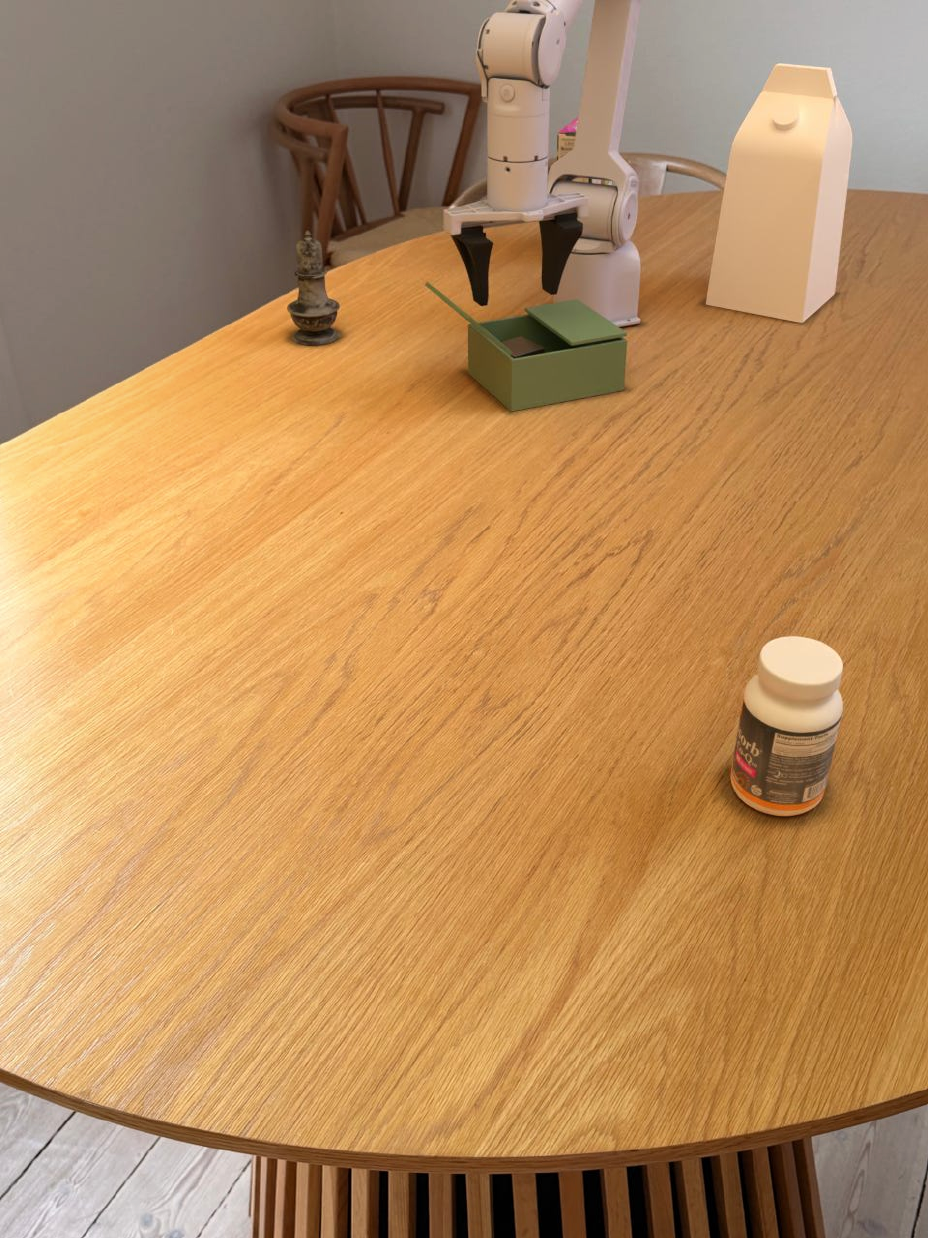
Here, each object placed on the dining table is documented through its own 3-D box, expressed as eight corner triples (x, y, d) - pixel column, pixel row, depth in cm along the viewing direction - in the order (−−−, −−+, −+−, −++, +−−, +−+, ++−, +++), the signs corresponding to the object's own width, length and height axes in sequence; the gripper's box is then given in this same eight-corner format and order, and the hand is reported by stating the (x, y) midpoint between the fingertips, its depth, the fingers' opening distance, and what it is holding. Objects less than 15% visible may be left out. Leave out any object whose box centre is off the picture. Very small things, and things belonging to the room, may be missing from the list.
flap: (512, 352, 117) (510, 355, 117) (468, 316, 125) (466, 319, 125) (469, 315, 113) (466, 319, 113) (426, 281, 121) (424, 284, 121)
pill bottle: (718, 761, 77) (737, 632, 71) (807, 755, 77) (832, 627, 72) (743, 824, 72) (765, 691, 67) (837, 817, 73) (867, 685, 67)
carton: (511, 411, 121) (512, 352, 117) (467, 372, 129) (467, 316, 125) (624, 390, 125) (628, 332, 121) (574, 353, 133) (577, 298, 129)
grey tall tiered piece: (345, 328, 140) (339, 222, 133) (336, 347, 135) (329, 239, 128) (295, 326, 140) (286, 221, 134) (284, 345, 135) (274, 237, 129)
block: (520, 372, 128) (520, 335, 126) (544, 384, 125) (545, 347, 123) (489, 381, 126) (490, 344, 124) (513, 393, 123) (514, 356, 121)
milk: (834, 293, 148) (873, 62, 133) (802, 323, 140) (840, 80, 125) (741, 277, 153) (769, 53, 139) (705, 304, 145) (730, 69, 131)
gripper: (463, 173, 108) (464, 320, 116) (606, 156, 113) (598, 299, 120) (433, 155, 113) (436, 297, 121) (571, 140, 118) (565, 277, 126)
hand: (515, 297), depth 121 cm, fingers open, 7 cm apart
